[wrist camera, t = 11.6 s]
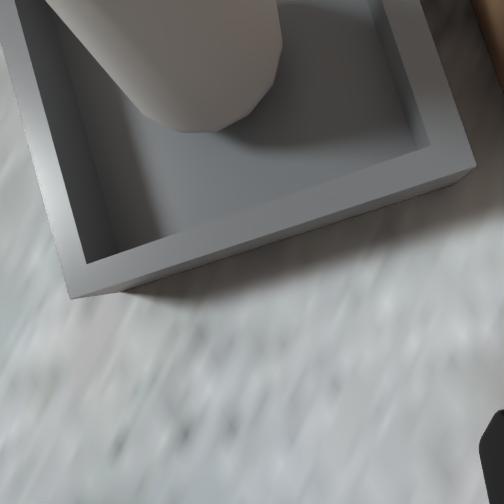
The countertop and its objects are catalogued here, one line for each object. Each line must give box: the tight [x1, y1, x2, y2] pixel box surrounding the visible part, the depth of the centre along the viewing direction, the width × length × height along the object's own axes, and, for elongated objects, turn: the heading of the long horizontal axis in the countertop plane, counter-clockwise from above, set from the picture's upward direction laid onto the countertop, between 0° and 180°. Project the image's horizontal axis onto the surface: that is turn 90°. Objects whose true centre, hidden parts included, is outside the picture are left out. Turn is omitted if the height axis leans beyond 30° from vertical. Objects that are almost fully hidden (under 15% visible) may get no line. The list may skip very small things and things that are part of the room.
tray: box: [0, 0, 477, 299], centre depth 17 cm, size 14×14×4 cm
